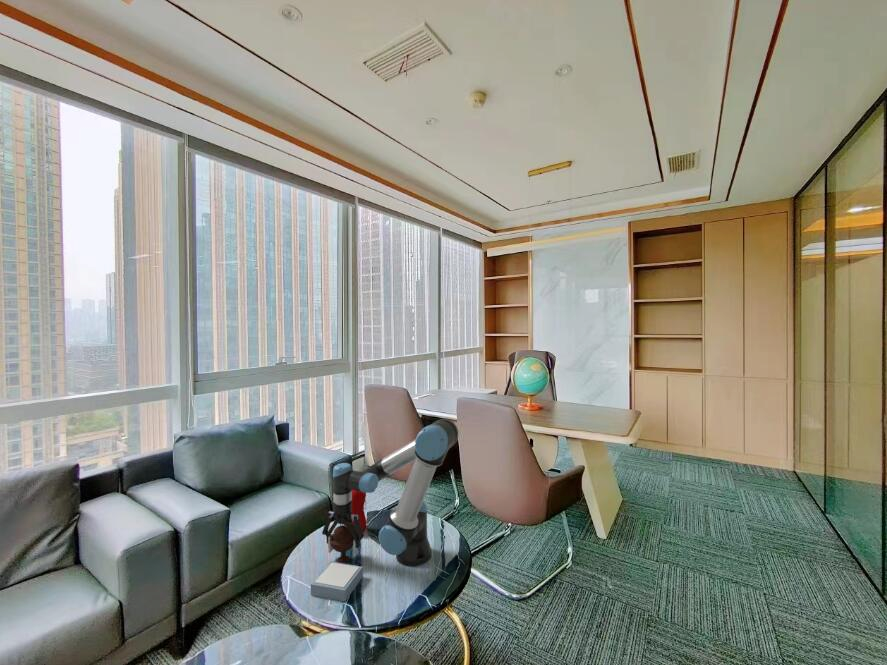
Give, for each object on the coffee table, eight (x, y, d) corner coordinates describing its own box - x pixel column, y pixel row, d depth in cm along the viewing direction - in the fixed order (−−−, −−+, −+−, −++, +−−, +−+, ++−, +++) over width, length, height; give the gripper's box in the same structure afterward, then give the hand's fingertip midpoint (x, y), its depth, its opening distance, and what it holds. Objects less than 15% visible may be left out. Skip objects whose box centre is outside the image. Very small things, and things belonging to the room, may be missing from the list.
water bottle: (360, 539, 178) (359, 485, 177) (341, 534, 182) (341, 481, 182) (372, 529, 186) (371, 478, 186) (354, 525, 191) (353, 475, 190)
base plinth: (362, 576, 151) (362, 565, 151) (345, 601, 137) (344, 589, 137) (331, 571, 154) (331, 560, 154) (310, 594, 141) (310, 583, 140)
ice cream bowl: (357, 565, 158) (357, 529, 158) (329, 570, 155) (329, 533, 155) (356, 550, 168) (355, 517, 168) (329, 555, 165) (329, 521, 165)
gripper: (372, 500, 162) (372, 551, 162) (322, 494, 168) (323, 544, 168) (364, 508, 155) (364, 562, 155) (312, 502, 161) (313, 554, 161)
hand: (343, 552), depth 162 cm, fingers closed on ice cream bowl, 11 cm apart
